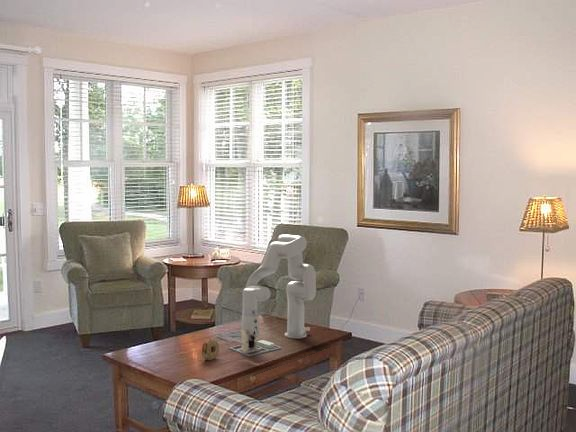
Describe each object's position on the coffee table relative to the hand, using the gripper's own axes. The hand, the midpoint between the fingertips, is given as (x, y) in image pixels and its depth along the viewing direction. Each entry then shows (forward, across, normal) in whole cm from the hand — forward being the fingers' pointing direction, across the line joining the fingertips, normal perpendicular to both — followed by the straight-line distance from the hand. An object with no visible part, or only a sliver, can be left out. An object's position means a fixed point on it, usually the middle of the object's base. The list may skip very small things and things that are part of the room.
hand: (249, 346), depth 326 cm
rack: (+3, 0, -4) cm, 5 cm away
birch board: (+3, 0, 0) cm, 3 cm away
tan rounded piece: (+4, +3, +22) cm, 22 cm away
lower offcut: (+4, 0, -11) cm, 12 cm away
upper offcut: (+2, 0, -11) cm, 11 cm away
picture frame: (+4, +24, -12) cm, 27 cm away
